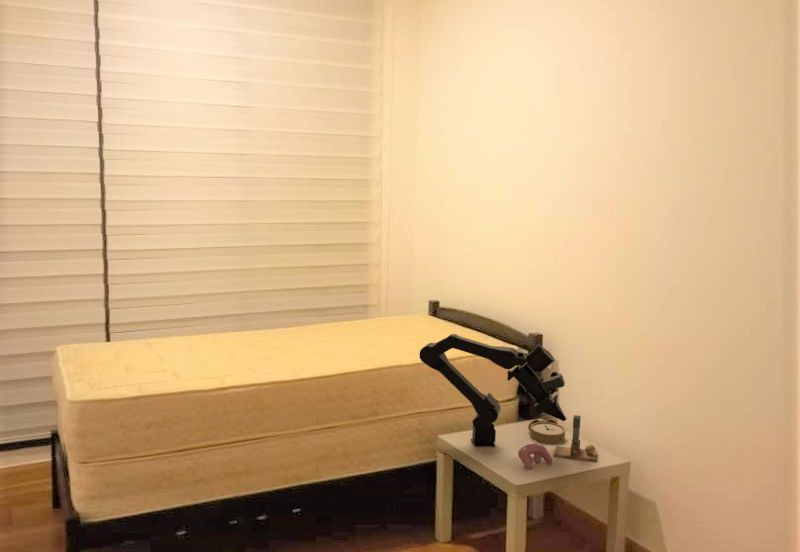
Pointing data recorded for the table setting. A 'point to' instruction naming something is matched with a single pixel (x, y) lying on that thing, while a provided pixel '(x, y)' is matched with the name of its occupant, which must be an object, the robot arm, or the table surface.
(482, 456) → the table surface
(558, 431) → the alarm clock
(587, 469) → the table surface
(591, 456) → the base
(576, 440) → the lever
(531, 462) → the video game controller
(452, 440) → the table surface
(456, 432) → the table surface
